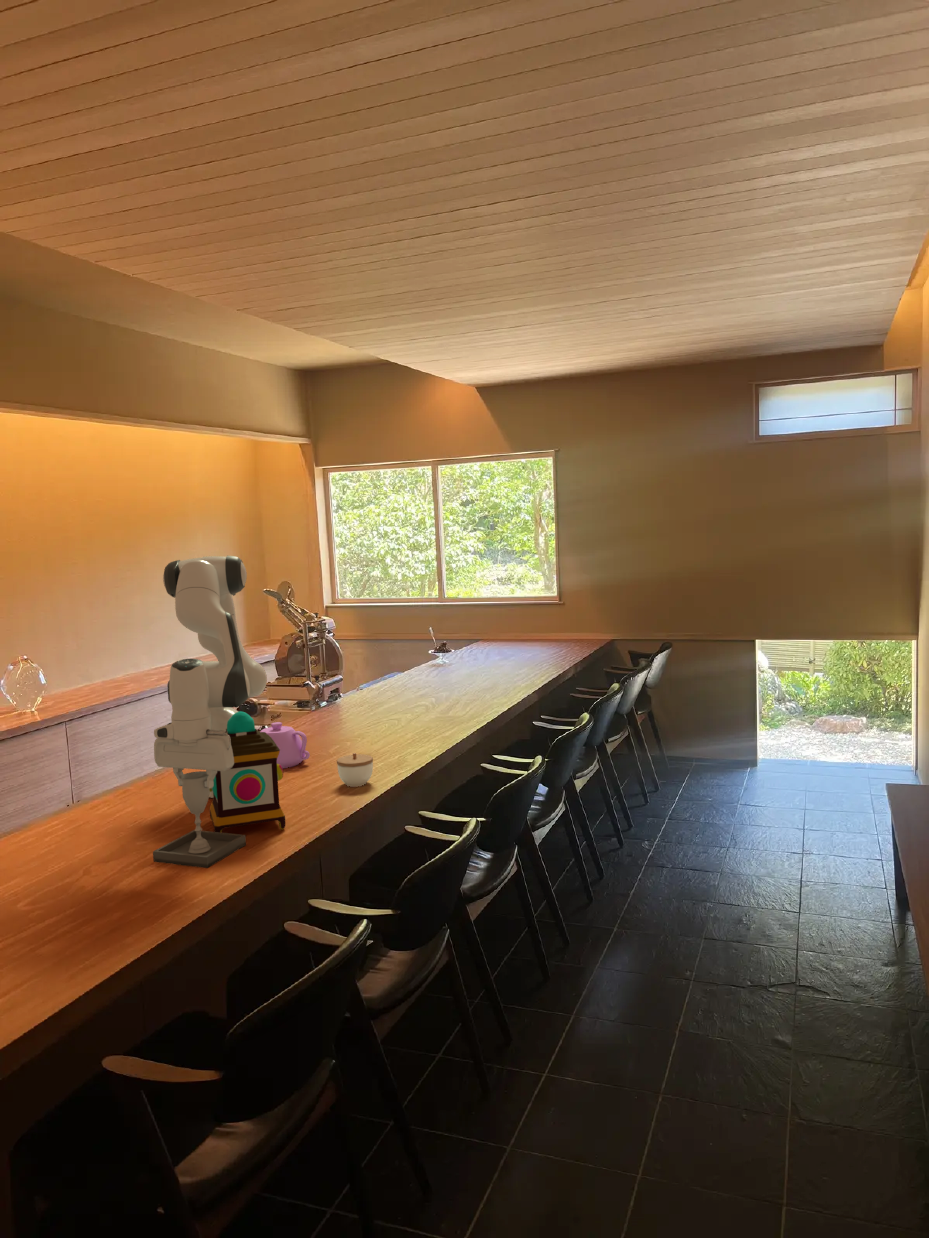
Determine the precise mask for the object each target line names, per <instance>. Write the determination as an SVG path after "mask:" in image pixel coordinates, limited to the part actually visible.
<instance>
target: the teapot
mask: <svg viewBox="0 0 929 1238" xmlns="http://www.w3.org/2000/svg"><path fill="white" fill-rule="evenodd" d="M259 731H260V732H265V733H266V734H268V735H269V736H270V737H271V738H272V739H273V741H274V742H275V743H276V745H277V746H278V748H279V749H280V753H279V755H278V758H277V764H280V765H281V767H282V769H283V770H284V769H287V768H288V767H289V768H292V767H295V766H298V765H299V763H300V764H301V763H302V761H305V760H308V759H309V758H310V756H311V755H310V752H309V751H308V750H306V748H307V742H308V741H307V740H308V737H307V735H306V734H305V733H304V732H302V731H299V730H297V731H296V730H295V729H294V727H292V726H287V725H285V726H284V725H283V722H280V721H277V722H272V723H270V727H265V728H263V729H261V730H259ZM289 768H288V769H289Z"/></svg>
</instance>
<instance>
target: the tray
mask: <svg viewBox="0 0 929 1238" xmlns="http://www.w3.org/2000/svg"><path fill="white" fill-rule="evenodd" d="M196 837H197V834H196V831H195V829H193V830H191V831H190V832H187V833H186V834H183V835H181V836H180V837H178V838H176V839H174V840H172V841H170V842H168V843H166V844H165V845H162V846H161V847H159V848H156V849H155V850H153V851H152V858H153V863H158V864H159V863H161V864H169V865H178V866H186V867H193V868H194V867H197V868H203V869H204V868H205V869H208V868H210V867H212V866H214V865H215V864H217V863H218V862H220V861H222V860H223V859H225V858H227V857H229V856H230V855H232V854H233V853H235V852H237V851H238V850H240V849H242V848H243V847H245V846H247V841H246V840H247V839H246V834H238V833H230V832H229V833H228V832H221V833H220V832H215V831H207V830H201V837H203V838H204V839H206V840H207V842H208V844H209V846H210V847H211V849H210V850H209V851H207V852H203V853H196V854H195V853H190V852H189V849H190V846H191V843H192V841H193V840H195V838H196Z"/></svg>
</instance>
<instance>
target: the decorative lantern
mask: <svg viewBox="0 0 929 1238" xmlns="http://www.w3.org/2000/svg"><path fill="white" fill-rule="evenodd" d="M260 731H261V730H258V729H257V728H256V726H255V719H254V718H253V717H252V716H251V715H250V714H248V713H247V712H244V711H241V710H240V711H238V712H236V713H235V714H233V715H232V717H231V718H230V719H229V720H228V722H227V729H226V732H225V733H227V734H228V735H229V736H230V739H231V746H232V751H233V757H234V765H233V767H232V768H230V769H228V770H226V771H217V774H216V776H215V778H214V779H213V782H214V786H213V787H212V788H209V789H210V792H212V791H213V798H212V802H211V804H210V806H209V817H210V820H211V821H212V825H213V830H214V831H213V832H220V833H223V832H222V831H223V830H224V829H227V828H228V829H229V828H233V827H240V826H247V825H255V824H261V823H266V822H267V823H268V822H274V821H277V822H278V825H279V826H278V827H279V829H280V830H284V829H286V828H285V827H286V815H285V813H284V811H283V809H282V807H281V805H280V795H279V793H280V792H279V781H281V780H282V779H283V777H284V768H283V769H282V767H281V765H280V764H277V758H278V755H279V753H280V749H279V748H278V746H277V745H276V743H275V742H274V741H273V739H272V738H271V737H270V736H269V735H268V734H266V733H265V732H260Z"/></svg>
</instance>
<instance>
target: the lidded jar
mask: <svg viewBox="0 0 929 1238" xmlns="http://www.w3.org/2000/svg"><path fill="white" fill-rule="evenodd" d="M373 762H374V757H373V756H372V755H369V754H361V753H359V754H358V753H357V752H352V754H348V755H343V756H340V757H338V758H337V759H336V765H337V773H338V776H339V779H340V780H341V781H342V782H343V784H345V786H346V785H347V786H346V787H349V786H350V787H349V788H356V787H358V786H359V787H363V786H365V785H367V783H368V782H369V781H370V779H371V777H372V774H373V768H374V763H373ZM364 784H365V785H364ZM362 785H363V786H362ZM359 787H358V788H359Z"/></svg>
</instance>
